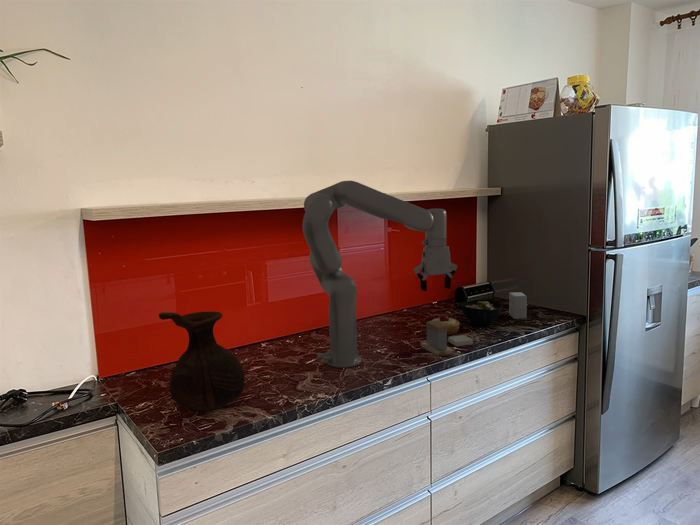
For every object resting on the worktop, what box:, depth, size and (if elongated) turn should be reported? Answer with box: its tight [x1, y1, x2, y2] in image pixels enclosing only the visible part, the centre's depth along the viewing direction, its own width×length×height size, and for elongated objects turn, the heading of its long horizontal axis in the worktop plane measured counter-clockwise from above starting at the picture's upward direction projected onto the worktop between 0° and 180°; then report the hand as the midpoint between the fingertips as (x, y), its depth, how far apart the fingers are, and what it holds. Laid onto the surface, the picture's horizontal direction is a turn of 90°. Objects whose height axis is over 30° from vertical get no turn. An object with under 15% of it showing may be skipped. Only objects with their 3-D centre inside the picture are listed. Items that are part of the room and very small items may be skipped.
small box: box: [508, 291, 528, 320], centre depth 238 cm, size 8×6×10 cm
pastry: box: [431, 311, 460, 337], centre depth 218 cm, size 12×12×9 cm
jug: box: [158, 311, 246, 412], centre depth 153 cm, size 22×22×30 cm
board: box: [420, 341, 455, 357], centre depth 197 cm, size 7×13×1 cm, turn 19°
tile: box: [447, 334, 474, 347], centre depth 204 cm, size 2×7×7 cm
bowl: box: [460, 299, 503, 327], centre depth 228 cm, size 17×17×10 cm
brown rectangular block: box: [425, 320, 448, 351], centre depth 196 cm, size 4×9×9 cm, turn 19°
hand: (435, 289), depth 193 cm, fingers open, 9 cm apart
